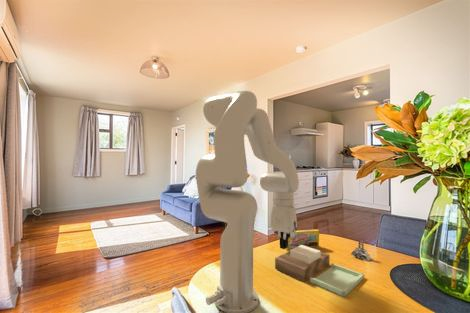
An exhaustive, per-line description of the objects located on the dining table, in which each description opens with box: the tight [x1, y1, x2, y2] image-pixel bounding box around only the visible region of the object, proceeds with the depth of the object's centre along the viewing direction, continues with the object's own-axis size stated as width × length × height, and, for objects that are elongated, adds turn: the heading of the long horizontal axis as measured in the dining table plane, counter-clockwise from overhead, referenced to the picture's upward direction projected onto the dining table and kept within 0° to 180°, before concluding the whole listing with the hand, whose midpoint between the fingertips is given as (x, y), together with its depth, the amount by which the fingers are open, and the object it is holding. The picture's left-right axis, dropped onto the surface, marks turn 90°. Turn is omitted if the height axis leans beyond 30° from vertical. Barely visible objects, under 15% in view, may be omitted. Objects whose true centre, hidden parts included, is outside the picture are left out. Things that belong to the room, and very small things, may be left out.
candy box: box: [285, 228, 320, 251], centre depth 104 cm, size 16×2×8 cm, turn 104°
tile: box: [289, 245, 322, 264], centre depth 85 cm, size 8×8×2 cm
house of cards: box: [350, 240, 373, 262], centre depth 93 cm, size 9×9×8 cm
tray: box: [309, 263, 365, 298], centre depth 76 cm, size 16×11×2 cm
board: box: [274, 250, 331, 283], centre depth 86 cm, size 18×12×4 cm, turn 132°
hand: (283, 247), depth 92 cm, fingers closed
